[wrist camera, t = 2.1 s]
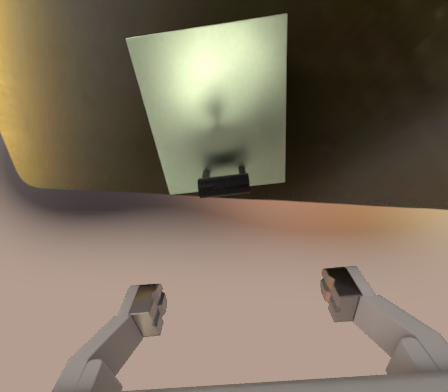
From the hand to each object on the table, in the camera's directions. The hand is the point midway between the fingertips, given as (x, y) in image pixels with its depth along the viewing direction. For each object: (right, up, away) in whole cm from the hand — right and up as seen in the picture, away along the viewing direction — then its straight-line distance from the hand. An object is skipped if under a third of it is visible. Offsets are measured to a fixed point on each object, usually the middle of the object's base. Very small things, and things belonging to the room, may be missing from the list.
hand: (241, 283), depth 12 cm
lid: (-2, +12, +12) cm, 17 cm away
